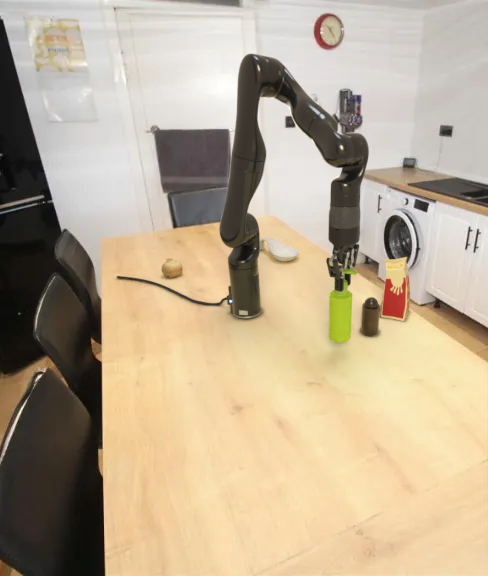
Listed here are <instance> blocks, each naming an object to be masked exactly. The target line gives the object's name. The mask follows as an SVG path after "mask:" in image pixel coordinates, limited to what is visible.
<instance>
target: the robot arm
mask: <svg viewBox="0 0 488 576" xmlns="http://www.w3.org/2000/svg"><path fill="white" fill-rule="evenodd" d="M236 89H237V91H236V115H235V116H236V118H235V124H234V125H235V127H234V135H233V143H232V144H233V145H232V149H231V156H230V164H229V175H228V182H227V186H226V187H227V188H226V194H225V195H226V197H225V201H224V205H223V209H222V214H221V217H220V221H219V227H218V230H219V236H220V239H221V242H222V243H223V244H224V245H225V246H226V247H228V248H230V249H231V251H230V253H229V254H228V256H227V268H228V275H229V286H228V287H227V289H228V294H227V295H226V297H223V298H222V299H221V300H220V301H219V302H207V301H201V300H196V299H194V298H191V297H190V296H187V295H185V294H182V293H181V292H179V291H177V290H174V289H172V288H170V287H168V286H166V285H164V284H161V283H159V282H155V281H152V280H147V279H144V278H139V277H138V278H137V277H131V276H121V275H117V276H116V278H117V279H122V280H131V281H137V282H143V283H147V284H151V285H155V286H157V287H160V288H162V289H165V290H167V291H169V292H171V293H173V294H175V295H177V296H179V297H180V298H184V299H186V300H187V301H190V302H192V303H194V304H199V305H204V306H213V307H215V306H216V307H217V306H221V305H223V303H224V302H225V301H226V302H227V305H228V306H229V307H230V314H232V315H233V316H234V317H235V318H237V319H240V320H249V319H254V318H256V317H258V316H260V315H261V314H262V312H263V310H262V300H261V285H260V283H261V282H260V272H259V257H260V253H261V250H260V239H261V236H260V235H261V234H260V226H259V223H258V220H257V219H256V217H255V216H254V215H253V214H252V213H251V212H249V208H250V204H251V201H252V200H253V197H254V196H255V194H256V192H257V190H258V188H259V186H260V184H261V182H262V179H263V176H264V172H265V166H266V160H267V146H266V142H265V140H264V139H265V138H264V136H263V133H262V131H261V127H260V124H259V107H260V106H259V105H260V99H261V98H265V99H275V100H277V101H278V102H280V103H282V104H283V105H285V106H286V107H287V109H288V110H289V112H290V116H291V119H292V121H293V123H294V125H295V126H296V127H297V128H298V129H299V130H300V131H301V132H302V134H304V135H305V136H306V137H307V138H308V139H310V141H312V142H313V144H314V146H315V148H316V150H317V152H318V153H319V155H320V156H321V158H322V159H323V161H324V162H325V163H326V164H327V165H328V166H330V167H332V168H335V169H341V170H340V173H339V175H337V176H336V177H334V178H333V179H332V180H331V181H330V184H329V209H328V235H327V237H328V242H329V243H330V244H331V245H333V246H332V247H333V248H332V253H331V254H332V255H331V257H326V259H325V262H326V267H327V270H328V275H329V278H334V285H335V290H336V291H340V292H342V291H343V290H344V278H343V277H344V271H345V269H346V268H347V269H353V270H354V268H355V267H356V265H357V260H358V256H359V250H360V244H359V241H360V233H361V185H362V183H363V181H364V180H363V179H364V177H365V172H366V169H367V166H368V162H369V155H370V148H369V144H368V141H367V139H366V137H365V136H364V135H363V134H362V133H360V132H344V133H340V132H338V130H339V124H338V122H337V120H336V118H335V117H334V116H333V115H332V114H330V113H329V112H328V111H327V110H326V109H325V108H324V107H322V105H320V104H319V102H316V101H315V99H313V98H312V97H311V96H310V95H309V94H308V93H307V92H306V91H305V90H304V88H303V87H302V86H301V85H300V83H299V82H298V81H297V80H296V79H295V77H294V76H293V74H291V72H290V71H289V70H288V68H287V67H286V66H285V64H283V63H282V61H280V60H279V59H278V58H275V57H271V56H267V55H262V54H257V53H247V54H246V55H244V56H243V58H242V60H241V61H240V64H239V68H238V74H237V87H236ZM339 269H341V273H340V270H339ZM345 280H347V281H348V286H351V283H352V282H351V281H352V274H345Z"/></svg>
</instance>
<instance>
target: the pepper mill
mask: <svg viewBox="0 0 488 576" xmlns="http://www.w3.org/2000/svg"><path fill="white" fill-rule="evenodd" d="M380 307H381V304H379V301H378V300H377V299H376V298H375V297H373V296H369V297H367V298H366V299H365V301H364V302H363V303H362V306H361V322H360V323H361V325H360V333H361V334H362V335H363V336H366V337H375V336H377V335H378V334H379V327H380Z"/></svg>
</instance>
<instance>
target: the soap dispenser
mask: <svg viewBox="0 0 488 576" xmlns="http://www.w3.org/2000/svg"><path fill="white" fill-rule="evenodd" d="M339 270H340V273H341V269H339ZM345 274H351V276H352V275H353V276H357V274H358V270H356V269H354V268H353V269H347V268H346V269H345V271H344V277H343V278H344V290H343V291H342V292H340V291H336V290H335V284H334V287H333V288H334V289H333V290H331V291H330V292H329V295H328V297H329V300H328V301H329V302H328V303H329V307H328V338H329V340H330V341H332V342H334V343H338V344H341V343H346V342H349V341H350V340H351V335H352V334H351V332H352V311H353V309H352V308H353V293H352V292H351V291H350V290H348V281H347V280H345Z"/></svg>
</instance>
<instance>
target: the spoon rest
mask: <svg viewBox="0 0 488 576" xmlns="http://www.w3.org/2000/svg"><path fill="white" fill-rule="evenodd" d="M265 242H266V243H267V245H268V249H269V251H270V253H271V256H272V257H273V258H274V259H275V260H277V261H279V262H283V263H285V262H290V261H293V260H295V259H296V258H297V257H298V256H299V254H300V251H299V250H298V249H296V248H295V247H293V246H291V245H289V244H287V243H284V242H282V241H279V239H278V240H277V239H275V238H273V237H270V236H266V237H264V238H260V251H262V250H264V249H265Z"/></svg>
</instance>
